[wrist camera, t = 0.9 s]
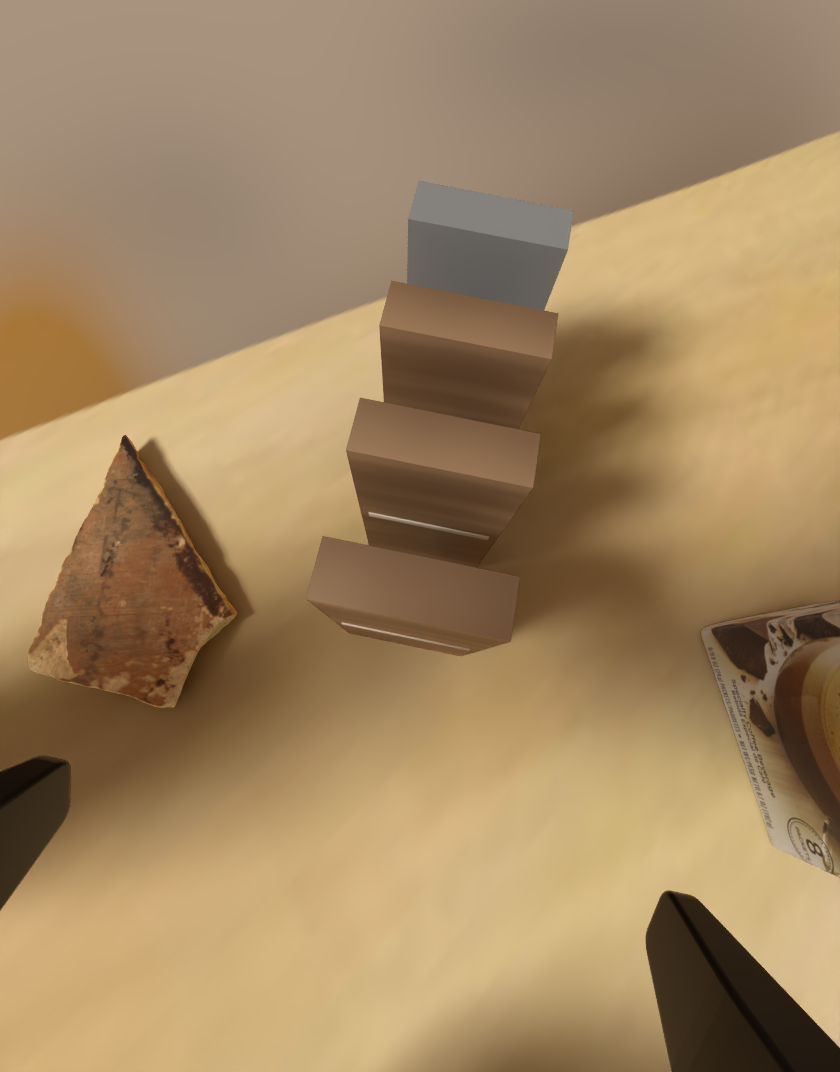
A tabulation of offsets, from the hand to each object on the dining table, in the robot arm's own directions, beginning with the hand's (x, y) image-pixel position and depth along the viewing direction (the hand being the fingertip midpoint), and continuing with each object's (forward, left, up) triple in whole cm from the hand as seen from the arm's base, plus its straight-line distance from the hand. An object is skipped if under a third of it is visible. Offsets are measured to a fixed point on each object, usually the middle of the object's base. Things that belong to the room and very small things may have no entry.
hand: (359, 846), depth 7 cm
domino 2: (+13, 0, -13) cm, 18 cm away
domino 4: (+5, 0, -13) cm, 14 cm away
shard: (+4, +13, -14) cm, 20 cm away
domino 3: (+9, 0, -13) cm, 16 cm away
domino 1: (+17, 0, -13) cm, 21 cm away
